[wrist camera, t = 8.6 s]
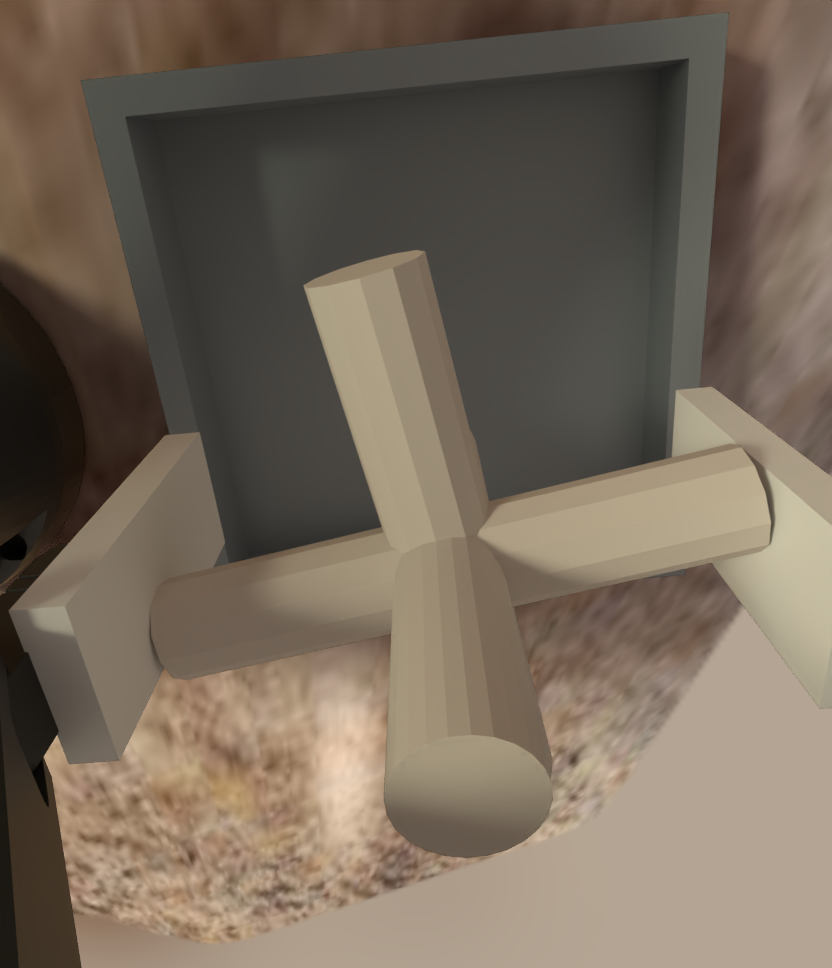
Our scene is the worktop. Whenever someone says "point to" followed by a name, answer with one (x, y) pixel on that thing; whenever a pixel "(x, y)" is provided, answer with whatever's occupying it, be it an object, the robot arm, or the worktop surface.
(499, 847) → the pipe connector
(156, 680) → the robot arm
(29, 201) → the worktop surface
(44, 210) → the worktop surface
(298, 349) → the tray
